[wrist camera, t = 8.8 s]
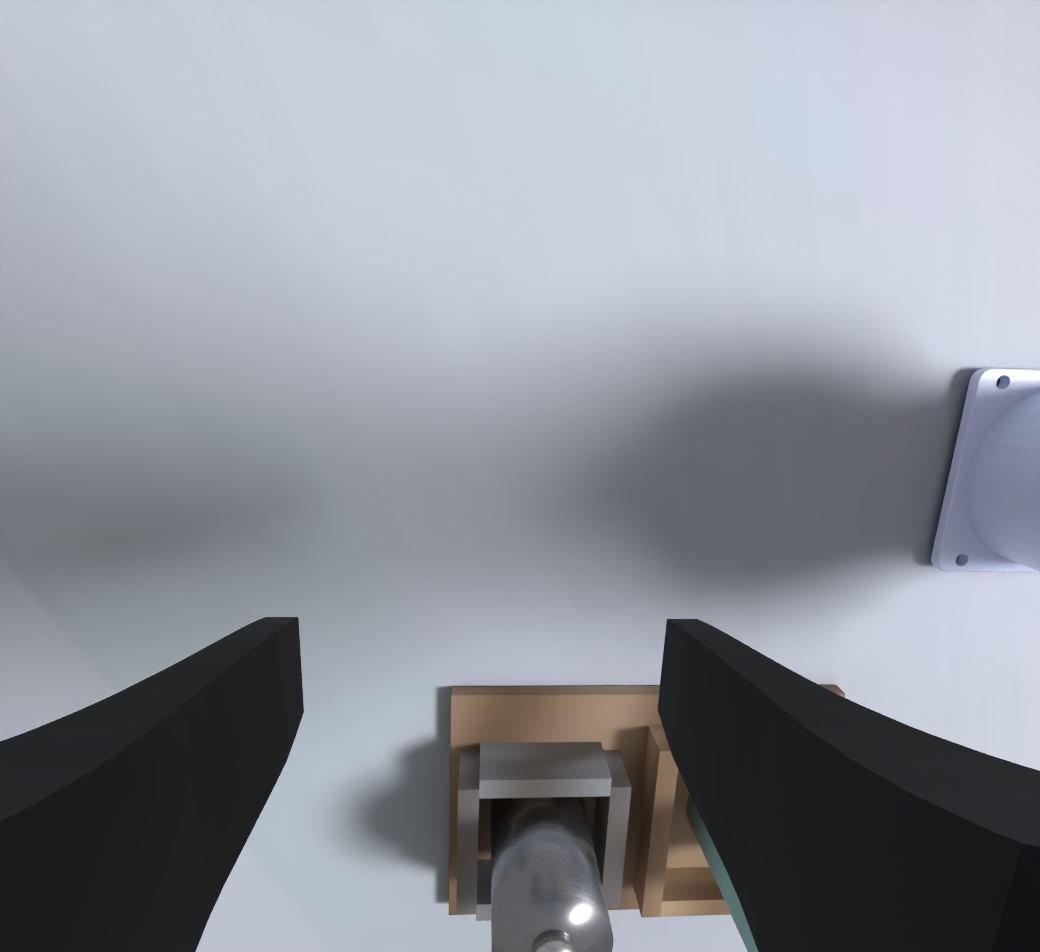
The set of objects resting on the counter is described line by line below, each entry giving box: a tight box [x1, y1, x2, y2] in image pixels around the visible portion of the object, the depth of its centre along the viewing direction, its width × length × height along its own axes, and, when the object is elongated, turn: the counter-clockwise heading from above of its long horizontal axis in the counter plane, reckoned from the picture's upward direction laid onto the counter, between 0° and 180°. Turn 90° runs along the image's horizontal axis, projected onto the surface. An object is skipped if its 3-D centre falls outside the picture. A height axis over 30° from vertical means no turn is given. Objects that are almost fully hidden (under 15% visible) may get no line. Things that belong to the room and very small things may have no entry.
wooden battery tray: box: [449, 685, 845, 921], centre depth 23 cm, size 16×11×3 cm
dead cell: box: [490, 797, 613, 952], centre depth 20 cm, size 4×4×6 cm
